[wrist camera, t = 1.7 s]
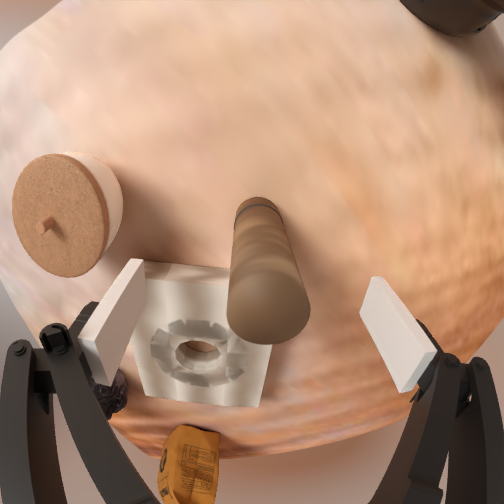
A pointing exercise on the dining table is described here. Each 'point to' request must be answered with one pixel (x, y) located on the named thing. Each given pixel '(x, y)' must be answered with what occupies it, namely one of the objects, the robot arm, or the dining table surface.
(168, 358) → the board
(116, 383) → the crystal cluster
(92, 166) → the lidded jar
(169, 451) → the coffee package
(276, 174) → the dining table surface
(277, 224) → the peg
